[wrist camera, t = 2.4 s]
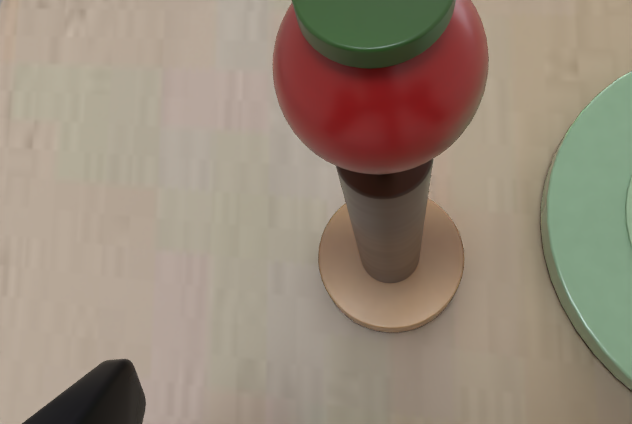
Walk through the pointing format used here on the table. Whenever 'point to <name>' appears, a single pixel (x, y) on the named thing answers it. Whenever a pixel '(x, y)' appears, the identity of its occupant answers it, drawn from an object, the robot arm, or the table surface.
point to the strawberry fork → (384, 142)
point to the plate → (595, 226)
